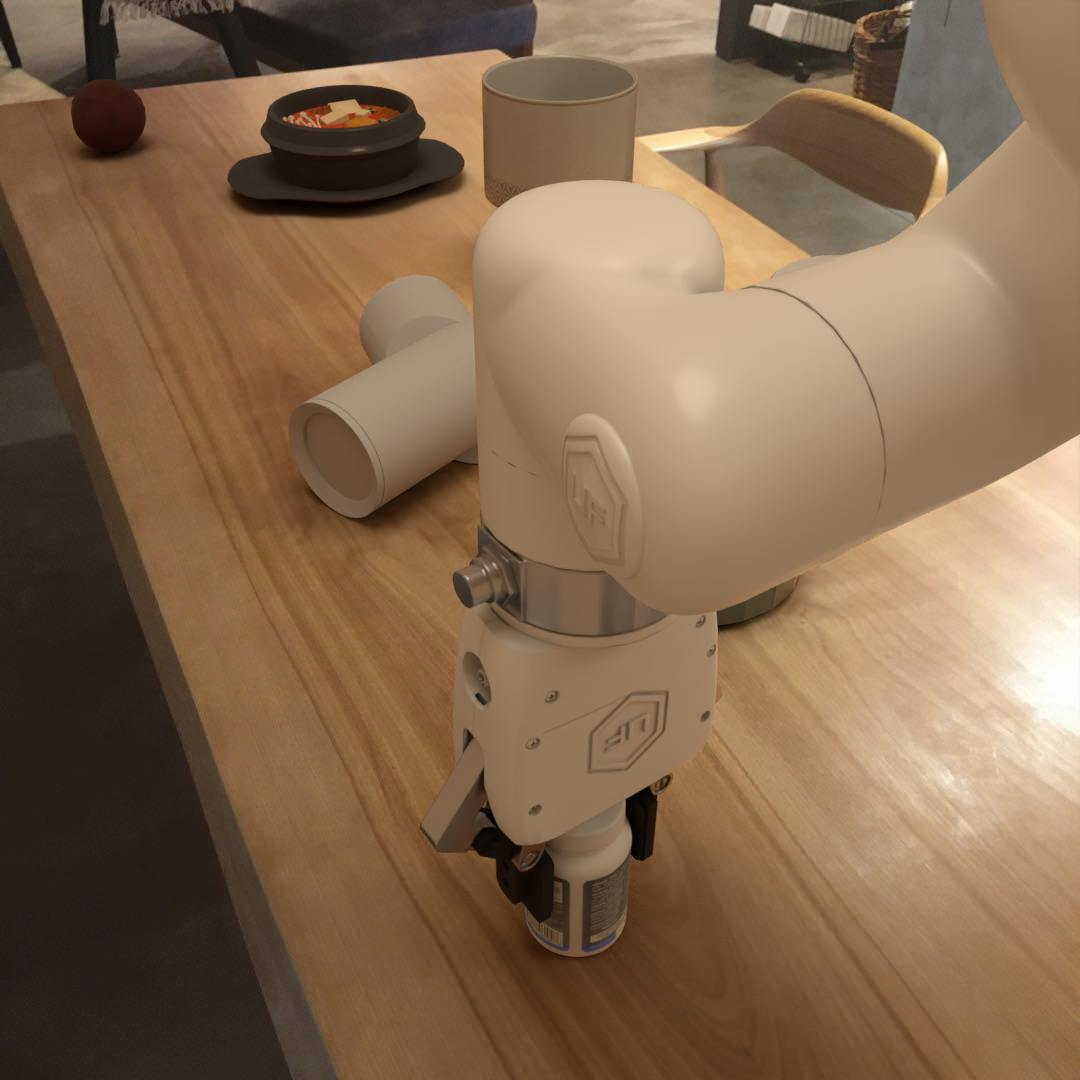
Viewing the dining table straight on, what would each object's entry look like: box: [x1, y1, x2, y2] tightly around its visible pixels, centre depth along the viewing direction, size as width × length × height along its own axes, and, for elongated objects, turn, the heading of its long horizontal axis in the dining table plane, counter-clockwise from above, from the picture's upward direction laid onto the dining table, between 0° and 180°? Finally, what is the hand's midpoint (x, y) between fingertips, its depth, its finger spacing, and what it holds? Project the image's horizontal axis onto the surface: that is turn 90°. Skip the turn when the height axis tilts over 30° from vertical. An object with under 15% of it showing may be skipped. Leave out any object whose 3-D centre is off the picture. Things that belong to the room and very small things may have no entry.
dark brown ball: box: [70, 78, 147, 153], centre depth 132 cm, size 8×9×8 cm
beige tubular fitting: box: [287, 274, 478, 519], centre depth 83 cm, size 18×10×20 cm
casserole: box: [227, 84, 466, 205], centre depth 123 cm, size 25×19×8 cm
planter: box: [481, 54, 639, 209], centre depth 103 cm, size 13×13×18 cm
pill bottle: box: [524, 800, 632, 958], centre depth 52 cm, size 5×5×8 cm
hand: (576, 864), depth 52 cm, fingers closed on pill bottle, 4 cm apart
